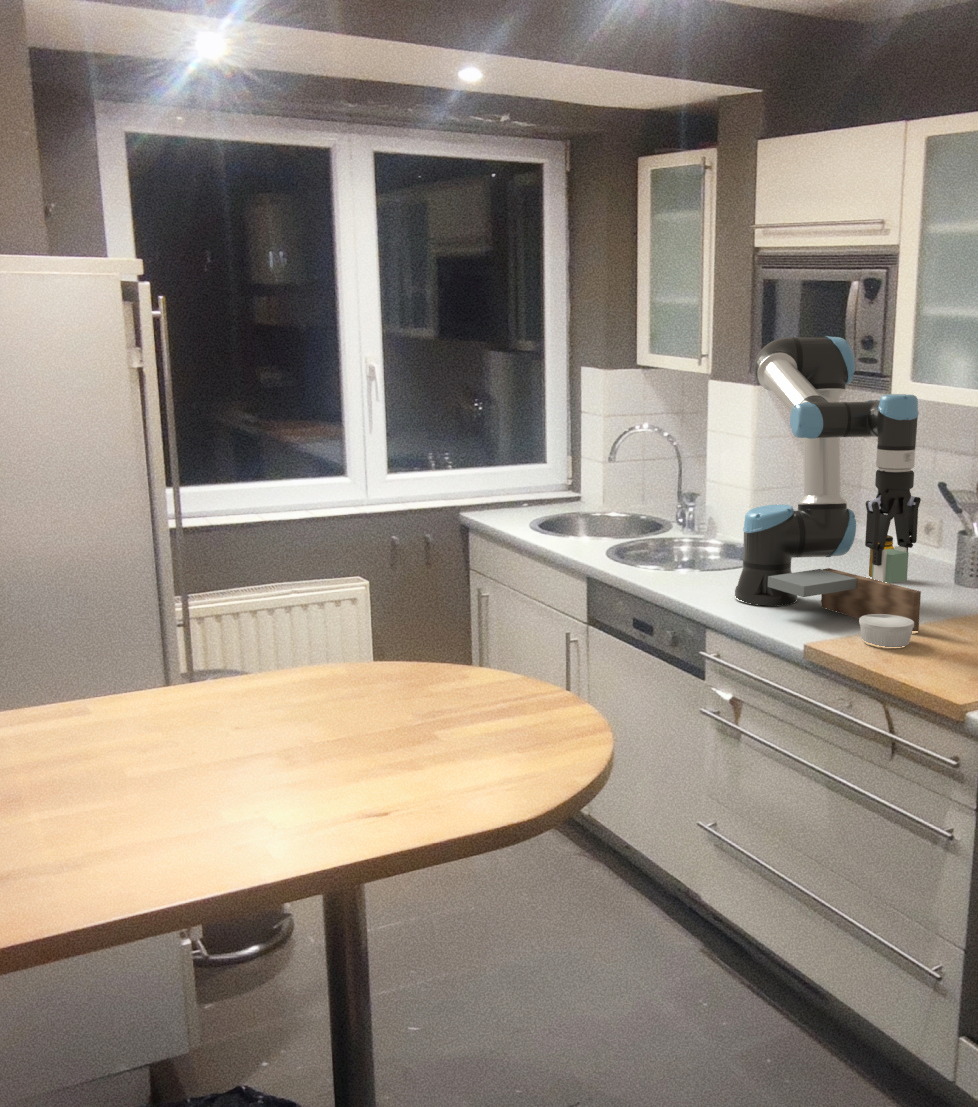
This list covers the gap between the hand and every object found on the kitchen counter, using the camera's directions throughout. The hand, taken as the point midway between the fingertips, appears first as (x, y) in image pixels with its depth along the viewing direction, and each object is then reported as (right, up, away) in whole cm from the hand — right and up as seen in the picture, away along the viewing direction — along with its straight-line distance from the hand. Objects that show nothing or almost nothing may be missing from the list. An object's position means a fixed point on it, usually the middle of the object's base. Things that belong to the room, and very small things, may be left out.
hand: (889, 578), depth 235 cm
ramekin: (0, -14, +3) cm, 15 cm away
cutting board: (+3, -10, +22) cm, 24 cm away
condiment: (+19, -2, +62) cm, 65 cm away
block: (0, 0, 0) cm, 0 cm away
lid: (-10, -3, +24) cm, 26 cm away
